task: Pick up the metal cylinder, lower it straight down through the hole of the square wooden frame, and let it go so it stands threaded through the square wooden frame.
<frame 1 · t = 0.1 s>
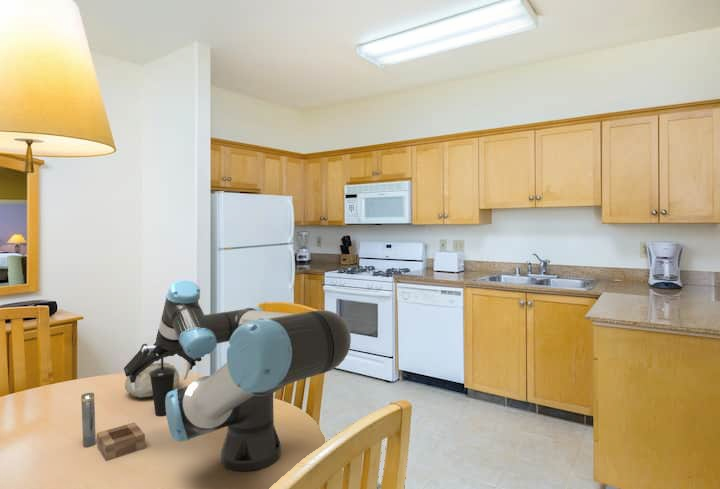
hand: (159, 382, 126), 15 cm above the table, tool tilted 35°, fingers open, 13 cm apart
square wooden frame: (121, 447, 119), on the table
metal cylinder: (89, 444, 121), on the table
grey rounded lump: (153, 393, 158), on the table
drinking cup: (163, 413, 141), on the table
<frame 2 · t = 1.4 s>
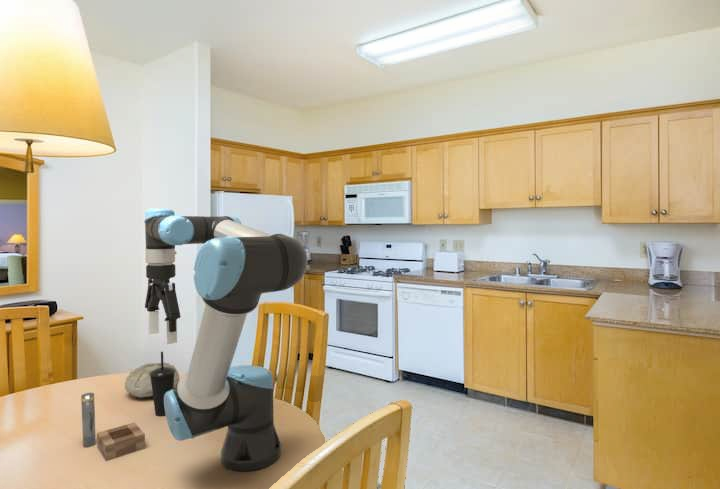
hand: (162, 338, 124), 28 cm above the table, tool pointing down, fingers open, 13 cm apart
nothing on the table moved.
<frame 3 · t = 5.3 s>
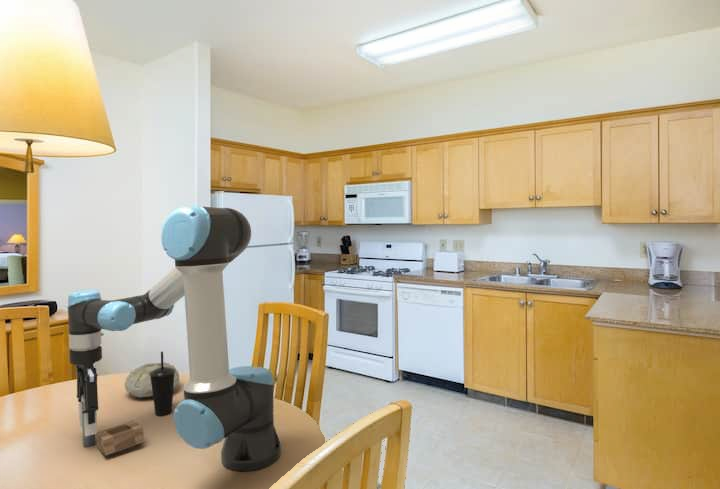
hand: (88, 429, 121), 4 cm above the table, tool pointing down, fingers open, 7 cm apart
square wooden frame: (121, 444, 119), point 1 cm above the table, tilted 9°, touching gripper
everything else where it was.
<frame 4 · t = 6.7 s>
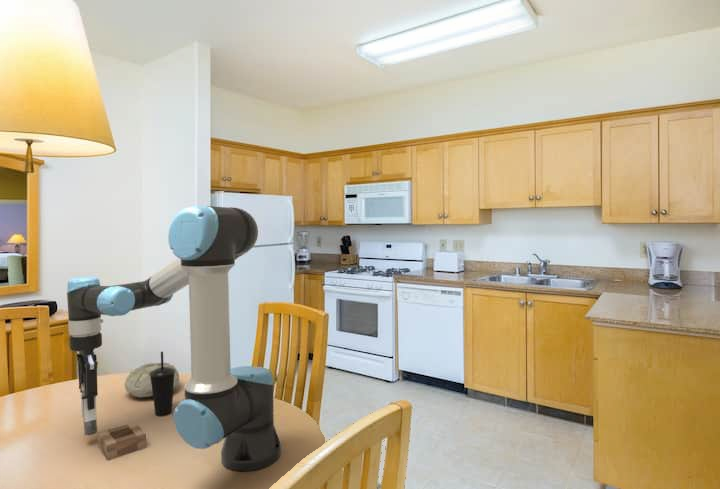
hand: (89, 417, 120), 8 cm above the table, tool pointing down, fingers closed on metal cylinder, 3 cm apart
square wooden frame: (122, 447, 119), on the table
metal cylinder: (90, 432, 121), point 3 cm above the table, touching gripper
everything else where it was.
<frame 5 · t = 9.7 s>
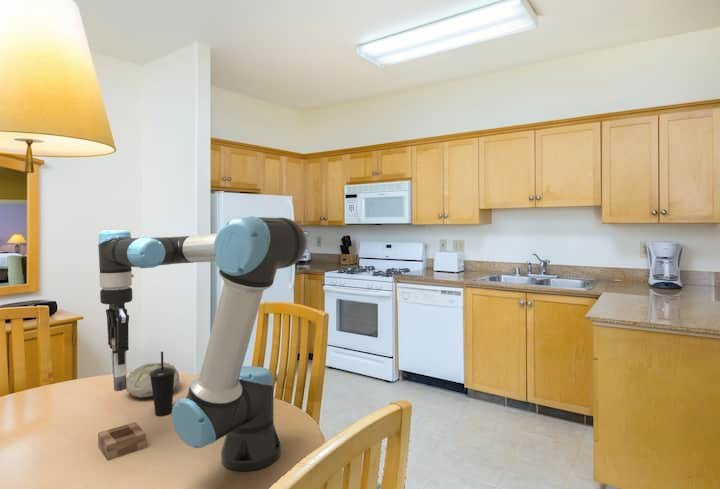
hand: (118, 373, 118), 20 cm above the table, tool pointing down, fingers closed on metal cylinder, 3 cm apart
metal cylinder: (120, 388, 118), point 16 cm above the table, touching gripper
everything else where it was.
when the fingers open (5 cm above the table, at t = 13.6 s): metal cylinder stays where it is, resting in square wooden frame.
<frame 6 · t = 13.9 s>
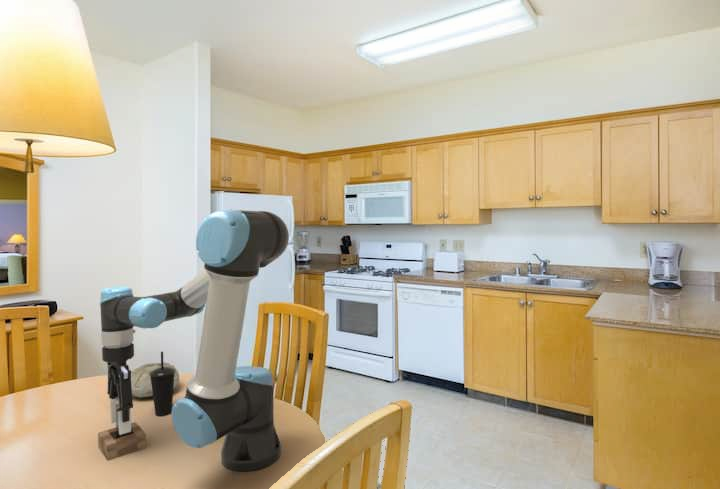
hand: (120, 426, 119), 6 cm above the table, tool pointing down, fingers open, 8 cm apart
metal cylinder: (122, 447, 119), resting in square wooden frame
everything else where it was.
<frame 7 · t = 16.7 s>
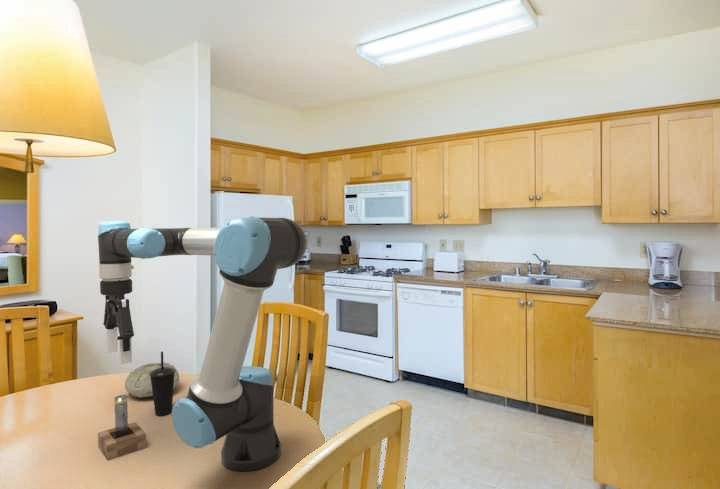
hand: (118, 357, 118), 25 cm above the table, tool pointing down, fingers open, 13 cm apart
nothing on the table moved.
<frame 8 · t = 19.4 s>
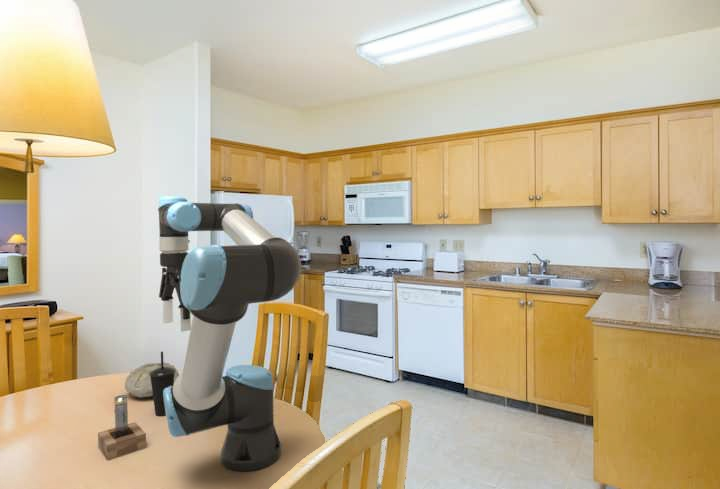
hand: (176, 326, 124), 32 cm above the table, tool pointing down, fingers open, 13 cm apart
nothing on the table moved.
at the end: metal cylinder 0.0 cm from the square wooden frame (horizontally); metal cylinder resting in square wooden frame; the gripper is holding nothing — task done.
